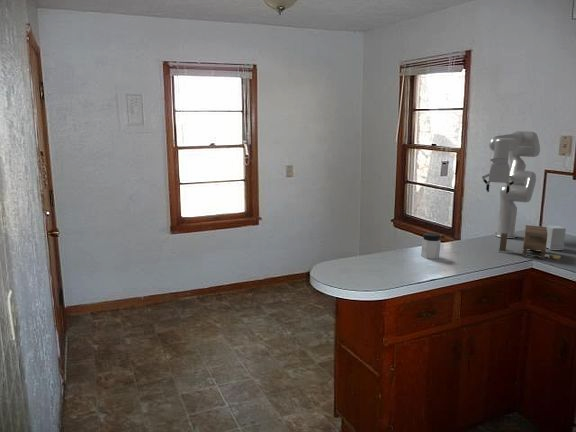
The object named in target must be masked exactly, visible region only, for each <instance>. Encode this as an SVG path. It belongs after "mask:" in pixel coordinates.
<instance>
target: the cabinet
mask: <svg viewBox="0 0 576 432" xmlns="http://www.w3.org/2000/svg"><path fill="white" fill-rule="evenodd" d="M547 235H548V233H547V227H546V226H539V225H529V224H526V225H525V229H524V238H523V246H522V247H523V248H522V251H523V255H522V257H523V258H527V256H526V253H527V252H528V250H527V249H530V250H541V251H542V252H541V257H540V259H541V260H545V259H546V258H545V254H546V250H547V249H546V243H547ZM523 249H524V250H523ZM530 250H529V251H530Z"/></svg>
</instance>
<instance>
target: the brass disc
mask: <svg viewBox="0 0 576 432" xmlns="http://www.w3.org/2000/svg"><path fill="white" fill-rule="evenodd" d="M549 256H550V258H549V259H551V258H554V259H553V260H561V255H559V254H552V253H550V254H549Z"/></svg>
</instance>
